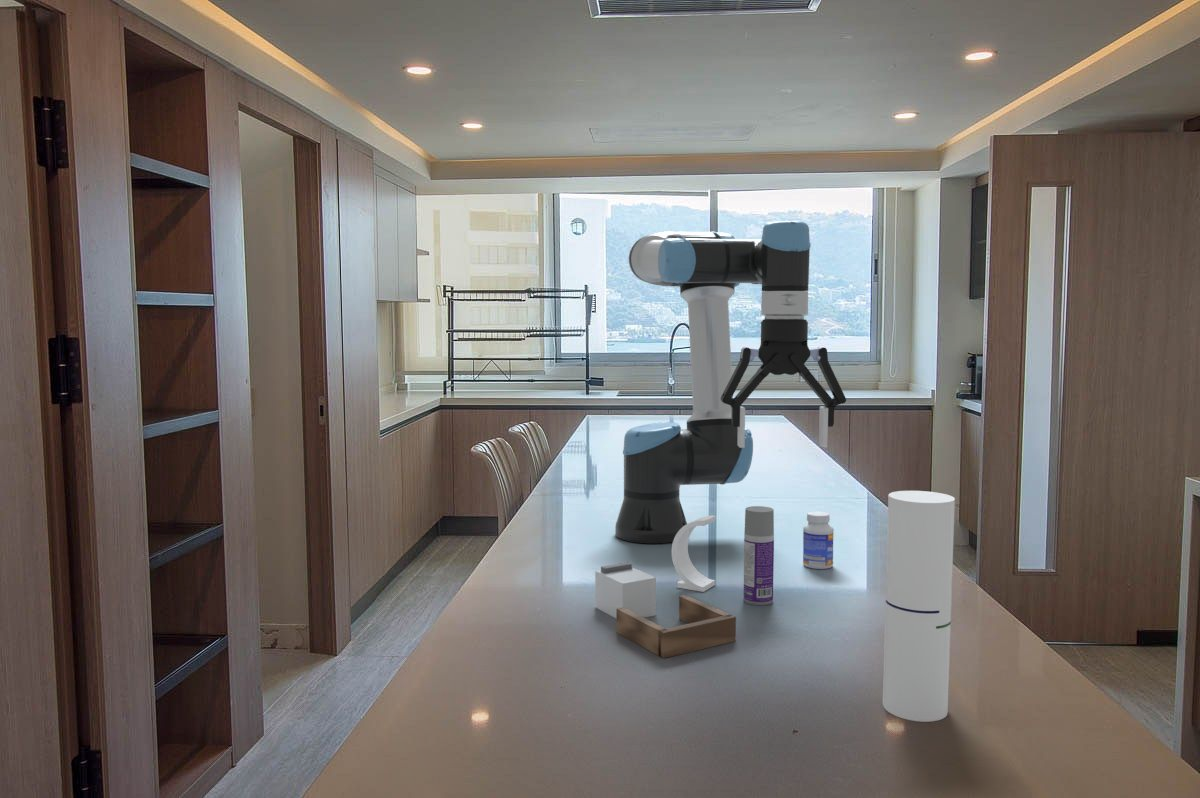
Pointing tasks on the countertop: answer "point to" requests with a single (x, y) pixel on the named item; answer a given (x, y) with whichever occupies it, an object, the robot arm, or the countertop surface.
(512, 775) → the countertop surface
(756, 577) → the container
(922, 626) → the cylindrical container
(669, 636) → the bay
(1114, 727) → the countertop surface
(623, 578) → the matte white cube
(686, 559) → the headphone stand
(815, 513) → the pill bottle
